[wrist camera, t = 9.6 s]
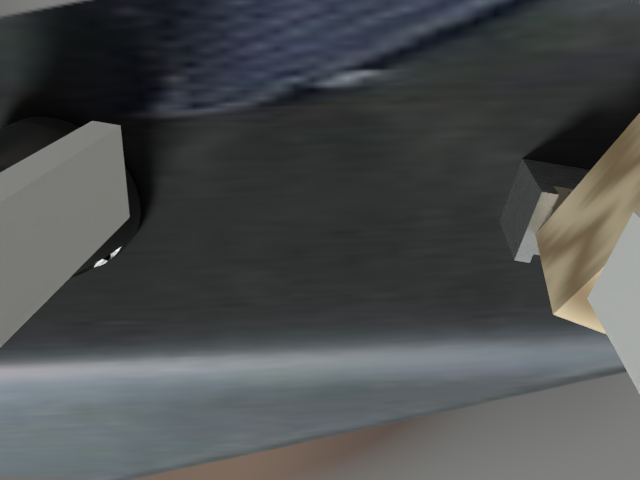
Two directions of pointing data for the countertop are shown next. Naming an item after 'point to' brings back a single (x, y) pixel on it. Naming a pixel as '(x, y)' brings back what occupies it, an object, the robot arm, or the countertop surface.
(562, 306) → the rail
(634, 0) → the block
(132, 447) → the countertop surface
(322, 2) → the countertop surface
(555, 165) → the block
